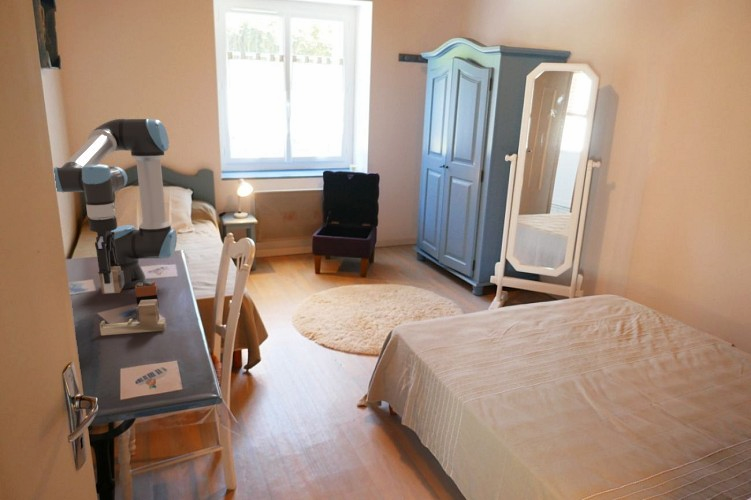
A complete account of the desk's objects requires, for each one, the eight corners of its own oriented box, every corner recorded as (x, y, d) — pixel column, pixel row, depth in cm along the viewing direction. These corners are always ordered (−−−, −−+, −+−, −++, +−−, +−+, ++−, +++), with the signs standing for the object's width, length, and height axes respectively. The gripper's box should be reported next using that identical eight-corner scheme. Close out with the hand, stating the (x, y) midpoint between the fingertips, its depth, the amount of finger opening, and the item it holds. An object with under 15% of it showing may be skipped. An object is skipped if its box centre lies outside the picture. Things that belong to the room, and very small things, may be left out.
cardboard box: (106, 288, 165) (103, 267, 163) (125, 286, 166) (123, 266, 164) (102, 293, 160) (98, 272, 158) (122, 292, 161) (119, 270, 159)
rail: (104, 330, 168) (100, 303, 165) (166, 325, 172) (163, 298, 170) (100, 336, 163) (96, 309, 161) (164, 331, 168) (161, 304, 165)
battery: (158, 309, 185) (155, 283, 182) (137, 312, 183) (134, 285, 180) (158, 305, 189) (156, 279, 186) (138, 307, 186) (135, 281, 184)
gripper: (108, 223, 149) (118, 298, 155) (122, 210, 165) (130, 279, 172) (79, 224, 147) (90, 300, 153) (96, 211, 164) (105, 280, 170)
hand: (111, 289), depth 163 cm, fingers closed on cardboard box, 5 cm apart
